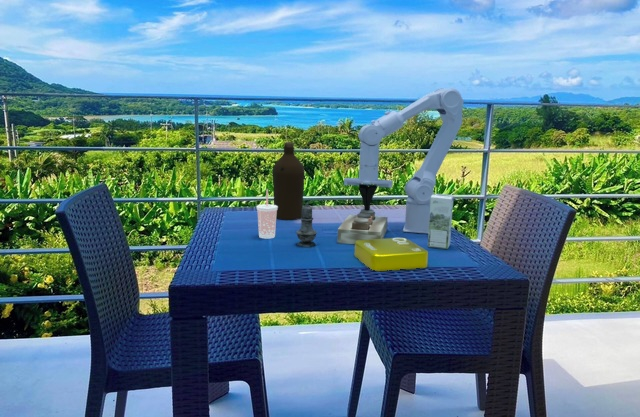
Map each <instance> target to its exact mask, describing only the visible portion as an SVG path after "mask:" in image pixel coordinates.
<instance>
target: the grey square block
mask: <svg viewBox="0 0 640 417" xmlns="http://www.w3.org/2000/svg"><path fill="white" fill-rule="evenodd" d="M356 217H357V214H348V215H347V217H346V218H345V219H344V221H343V222H342V223H341V224H340V225H339V227H338V228H337V242H336V243H337V244H345V245H346V244H347V245H355V242H356V241H357V240H369V239H385V235H386V233H387V229H388V216H376V215H375V220H372V225H369V230H355V229H352V223H353V221H354V218H356Z"/></svg>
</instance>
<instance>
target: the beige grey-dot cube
mask: <svg viewBox="0 0 640 417" xmlns="http://www.w3.org/2000/svg"><path fill="white" fill-rule="evenodd" d="M356 215H357V217H356V218H367V219H368V221H370V225H372V216H371V214H368V213H360V212H358V213H356Z"/></svg>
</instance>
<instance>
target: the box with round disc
mask: <svg viewBox="0 0 640 417" xmlns="http://www.w3.org/2000/svg"><path fill="white" fill-rule="evenodd" d="M359 213H368V214H371V216H372V220H375V216H376V211H375V210H374V209H371V208H370V210H364V208H361V209H360V211H359Z"/></svg>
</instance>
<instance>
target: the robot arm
mask: <svg viewBox="0 0 640 417" xmlns="http://www.w3.org/2000/svg"><path fill="white" fill-rule="evenodd" d="M463 105H464V99H463V97H462V95H461V93H460V91H459V90H458V89H456V88H438V89H435V90H434V91H431V92H428V93H427V94H425V95H424V96H421V97H420V98H419V99H417V100H416V101H414V102H412V103H411V104H409V105H407V106H406V107H405V108H403V109H401V110H399V111H397V110H391V111H389V110H388V111H387V110H386V111H385V112H384V115H382V116H381V117H379V118H377V119H373V120H372V119H371V121H370V124H365V125H364V126H362V127H361V128H360V129H359V132H358V134H357V136H358V139H359V141H360V145H359V146H360V149H359V164H358V165H359V167H358V171H359V172H358V177H356V178H355V177H345V178H344V179H343V185H344V186H358V191H359V193H360V195H361V196H360V197H361V198H362V203H363V207H364V208H363V209H364V210H370V209H371V204H372V202H373V201H372V200H373V198H374V196H375V193H376V191H377V189H378V188H390V189H392V188H393V182H394V180H388V179H381V178H380V179H379V160H380V143H381V142H382V139H384V138H386V137H388V136H390V135H392V134H394V133H395V132H397V131H398V130H400V129H402V128H403V126H404V122H405V121H408V120H410V119H411V118H413V117H415V116H418V115H419V114H421V113H422V112H424V111H426V110H436V111H437V113H439V115H440V118H441V121H442V124H441V126H440V128H439V129H438V132H437V134H436V136H435V138H434V140H433V142H432V144H431V146H430V148H429V150H428V152H427V154H426V155H425V158H424V159H423V162H422V163H421V166H420V168H419V169H418V170H417V171H416V172H415V173H414V174H413V176H412V177H411V178H410V179H409V180H408V181H407V182H406V183H405V186H404V192H405V194H406V195H407V198H406V202H405V217H404V218H405V220H404V221H405V222H404V226H403V229H402V232H405V233H418V234H428V232H429V216H430V200H431V196H432V194H434V188H435V186H436V183H437V182H436V176H437V174H438V172H439V170H440V168H441V166H442V164H443V162H444V160H445V158H446V156H447V154H448V152H449V151H450V148H451V147H452V144H453V142H454V141H455V139H456V136H457V135H458V133H459V130H460V129H461V126H462V124H463Z"/></svg>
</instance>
